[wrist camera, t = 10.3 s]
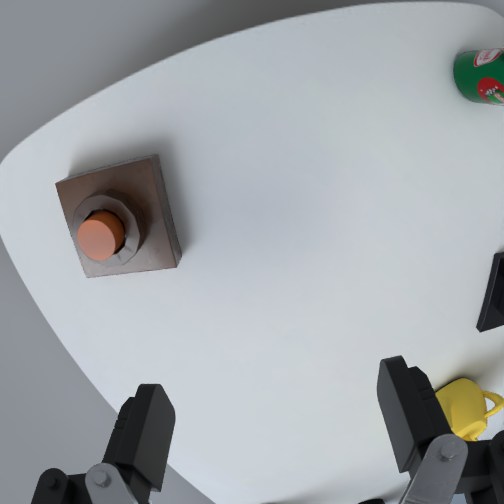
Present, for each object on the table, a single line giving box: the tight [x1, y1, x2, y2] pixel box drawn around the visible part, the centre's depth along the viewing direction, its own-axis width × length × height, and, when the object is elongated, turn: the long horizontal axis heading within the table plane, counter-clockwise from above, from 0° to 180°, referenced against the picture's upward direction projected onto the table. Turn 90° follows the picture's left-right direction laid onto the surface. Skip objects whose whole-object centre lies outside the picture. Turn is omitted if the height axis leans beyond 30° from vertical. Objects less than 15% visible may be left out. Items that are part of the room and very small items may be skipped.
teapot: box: [435, 378, 504, 441], centre depth 37 cm, size 14×13×10 cm
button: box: [77, 211, 124, 261], centre depth 25 cm, size 4×4×2 cm
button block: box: [55, 154, 182, 278], centre depth 27 cm, size 10×10×4 cm
